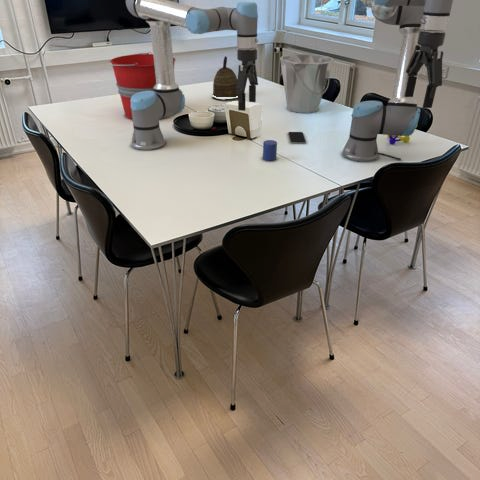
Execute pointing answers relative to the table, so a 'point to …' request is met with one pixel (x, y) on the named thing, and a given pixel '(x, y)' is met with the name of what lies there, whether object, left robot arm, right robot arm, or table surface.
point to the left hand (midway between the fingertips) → (247, 106)
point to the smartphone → (296, 137)
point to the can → (269, 150)
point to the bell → (225, 82)
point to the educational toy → (394, 140)
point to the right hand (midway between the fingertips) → (417, 102)
